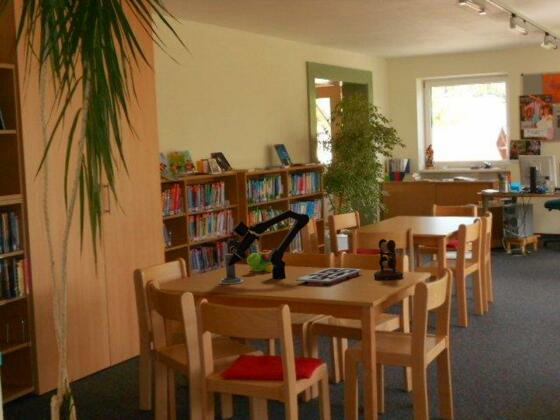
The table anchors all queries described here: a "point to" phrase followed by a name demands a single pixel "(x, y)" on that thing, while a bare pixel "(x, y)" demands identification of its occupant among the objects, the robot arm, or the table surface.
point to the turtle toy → (260, 261)
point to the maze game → (329, 276)
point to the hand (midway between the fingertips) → (227, 264)
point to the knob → (229, 269)
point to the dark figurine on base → (387, 260)
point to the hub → (231, 280)
